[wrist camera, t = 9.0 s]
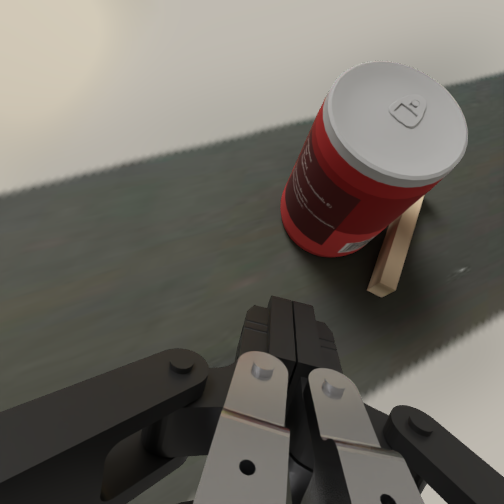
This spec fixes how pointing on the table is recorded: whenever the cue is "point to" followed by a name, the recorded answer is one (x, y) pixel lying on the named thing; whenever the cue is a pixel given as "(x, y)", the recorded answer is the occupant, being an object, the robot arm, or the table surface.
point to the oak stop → (394, 252)
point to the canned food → (370, 156)
